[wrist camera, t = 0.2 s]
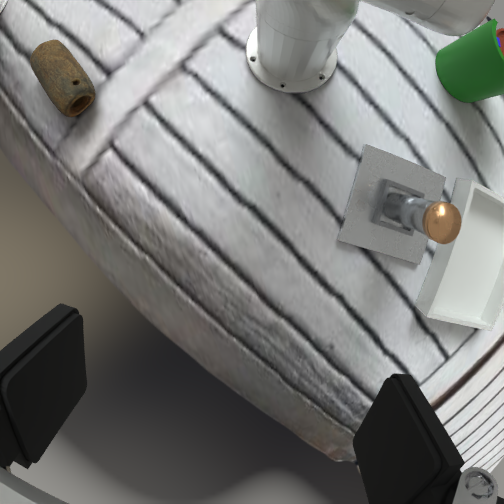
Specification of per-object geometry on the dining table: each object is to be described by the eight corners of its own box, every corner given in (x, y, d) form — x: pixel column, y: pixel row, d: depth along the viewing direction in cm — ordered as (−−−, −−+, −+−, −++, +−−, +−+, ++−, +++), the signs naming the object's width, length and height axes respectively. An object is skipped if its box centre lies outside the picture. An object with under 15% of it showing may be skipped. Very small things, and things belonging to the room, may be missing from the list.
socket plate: (363, 144, 41) (369, 143, 38) (442, 177, 41) (451, 178, 39) (337, 239, 44) (341, 243, 42) (416, 262, 45) (424, 267, 42)
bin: (456, 178, 41) (472, 180, 37) (516, 211, 42) (532, 215, 37) (414, 305, 47) (426, 317, 42) (478, 320, 47) (491, 331, 43)
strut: (387, 187, 41) (436, 197, 28) (413, 197, 41) (465, 210, 28) (379, 217, 42) (424, 237, 29) (404, 226, 42) (454, 248, 29)
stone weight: (110, 88, 39) (89, 78, 33) (81, 122, 41) (57, 118, 34) (64, 41, 37) (43, 30, 30) (39, 73, 38) (15, 65, 32)
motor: (480, 63, 36) (556, 36, 16) (483, 109, 38) (567, 97, 19) (433, 44, 36) (507, 0, 16) (436, 93, 38) (521, 65, 19)
